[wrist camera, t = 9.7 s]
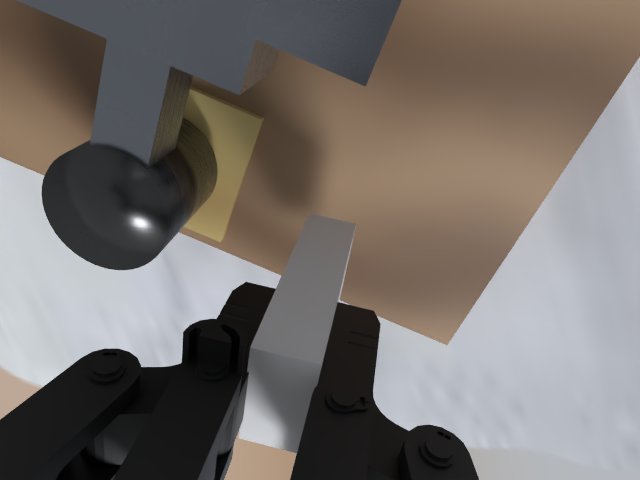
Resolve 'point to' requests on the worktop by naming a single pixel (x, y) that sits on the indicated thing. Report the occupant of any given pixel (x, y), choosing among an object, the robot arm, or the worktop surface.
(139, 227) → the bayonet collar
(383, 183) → the base
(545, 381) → the worktop surface
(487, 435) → the worktop surface
